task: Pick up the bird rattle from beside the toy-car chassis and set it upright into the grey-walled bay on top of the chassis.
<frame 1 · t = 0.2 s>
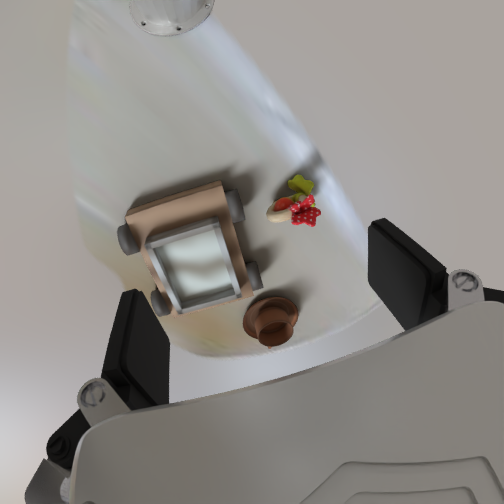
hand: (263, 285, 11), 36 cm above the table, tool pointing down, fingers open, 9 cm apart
chassis: (193, 251, 51), on the table
bird rattle: (286, 196, 49), on the table
cup and saucer: (268, 313, 62), on the table
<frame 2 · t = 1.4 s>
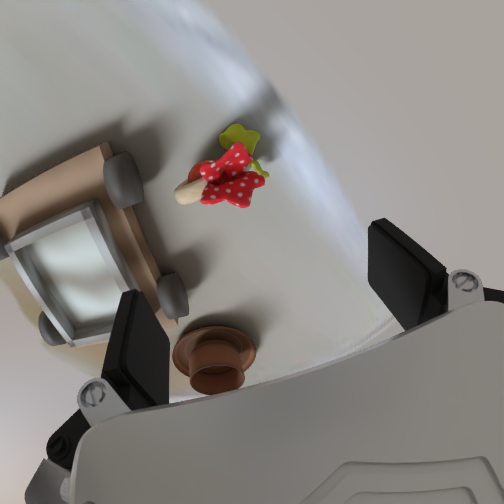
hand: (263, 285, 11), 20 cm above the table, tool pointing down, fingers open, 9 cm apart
chassis: (85, 255, 30), on the table
bird rattle: (219, 164, 28), on the table
cup and saucer: (213, 347, 41), on the table
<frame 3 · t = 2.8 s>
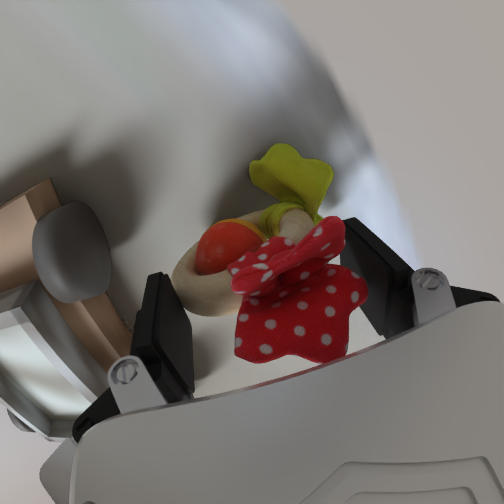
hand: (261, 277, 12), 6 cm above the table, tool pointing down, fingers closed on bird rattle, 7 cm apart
chassis: (46, 338, 19), on the table
bird rattle: (248, 212, 17), on the table, touching gripper
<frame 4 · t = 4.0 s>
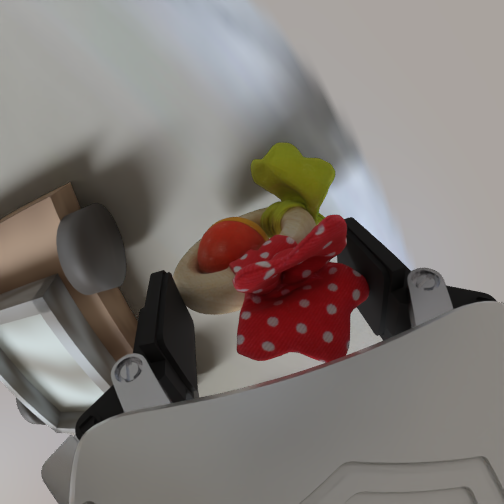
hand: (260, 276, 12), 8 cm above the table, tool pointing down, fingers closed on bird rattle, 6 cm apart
chassis: (59, 332, 20), on the table
bird rattle: (250, 211, 17), point 1 cm above the table, touching gripper
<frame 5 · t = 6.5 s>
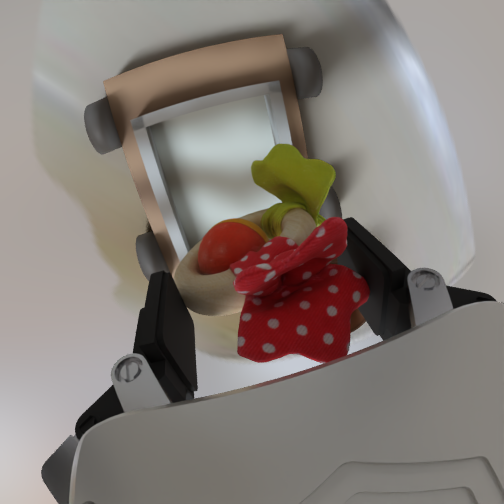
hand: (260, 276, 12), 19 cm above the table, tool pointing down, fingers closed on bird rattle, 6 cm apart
chassis: (219, 159, 28), on the table
bird rattle: (250, 212, 17), point 13 cm above the table, touching gripper
when the fingers open (11 cm above the table, at t = 8.4 s): bird rattle drops 1 cm, resting on chassis.
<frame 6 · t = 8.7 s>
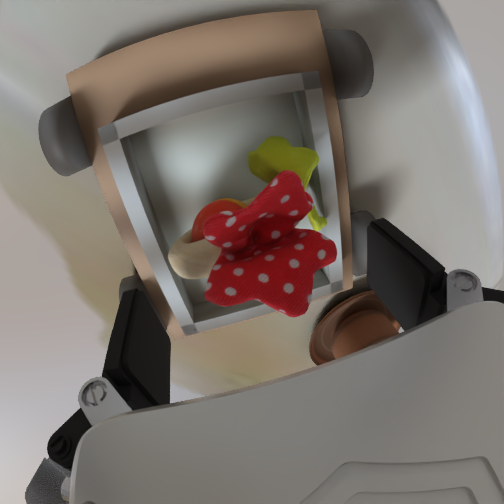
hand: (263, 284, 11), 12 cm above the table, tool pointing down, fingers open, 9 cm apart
chassis: (227, 179, 21), on the table
bird rattle: (248, 201, 18), point 3 cm above the table, touching chassis
cup and saucer: (352, 322, 32), on the table
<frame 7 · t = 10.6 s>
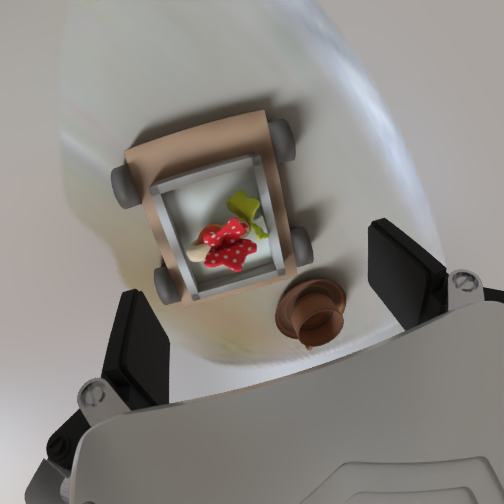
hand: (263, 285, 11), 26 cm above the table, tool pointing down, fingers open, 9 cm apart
chassis: (217, 210, 36), on the table
bird rattle: (227, 224, 34), point 3 cm above the table, touching chassis
cup and saucer: (307, 303, 47), on the table
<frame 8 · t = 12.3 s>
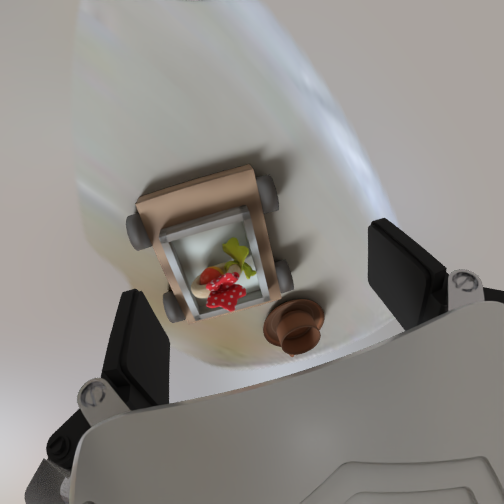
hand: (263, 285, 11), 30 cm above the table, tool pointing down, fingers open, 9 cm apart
chassis: (214, 247, 44), on the table
bird rattle: (223, 261, 42), point 3 cm above the table, touching chassis
cup and saucer: (291, 318, 55), on the table
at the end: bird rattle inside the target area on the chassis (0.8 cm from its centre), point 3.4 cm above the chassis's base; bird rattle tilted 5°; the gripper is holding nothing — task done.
